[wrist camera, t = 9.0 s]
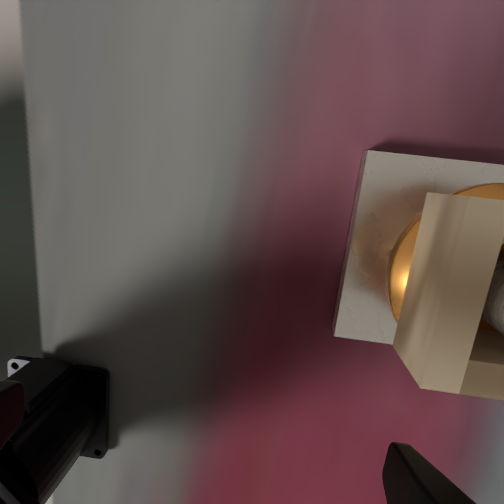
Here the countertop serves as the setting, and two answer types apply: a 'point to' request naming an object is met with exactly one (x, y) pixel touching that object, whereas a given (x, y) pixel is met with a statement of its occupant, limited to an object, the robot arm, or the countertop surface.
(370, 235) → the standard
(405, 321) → the collar
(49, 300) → the countertop surface
